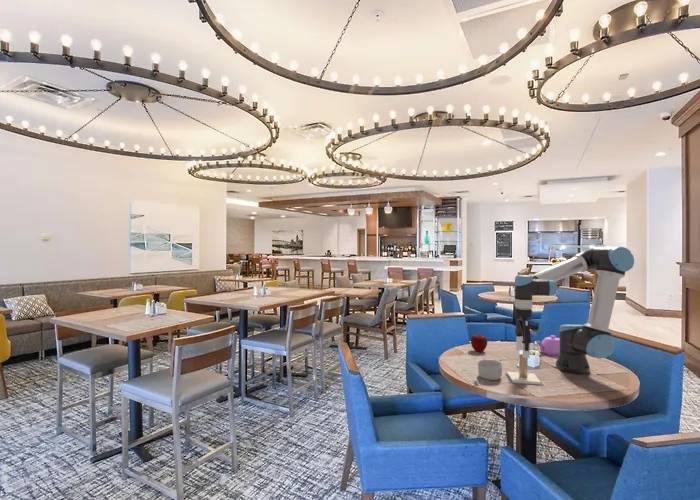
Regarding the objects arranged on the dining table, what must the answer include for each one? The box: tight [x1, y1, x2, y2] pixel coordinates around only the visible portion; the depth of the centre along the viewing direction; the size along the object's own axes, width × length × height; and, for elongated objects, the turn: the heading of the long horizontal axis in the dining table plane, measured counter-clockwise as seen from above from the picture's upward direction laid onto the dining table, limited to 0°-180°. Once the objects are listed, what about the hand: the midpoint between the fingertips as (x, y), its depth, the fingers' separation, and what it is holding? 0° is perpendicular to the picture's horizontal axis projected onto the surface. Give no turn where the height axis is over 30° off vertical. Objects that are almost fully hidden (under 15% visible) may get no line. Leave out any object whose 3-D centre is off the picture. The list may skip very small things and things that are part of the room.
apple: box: [470, 334, 488, 353], centre depth 226 cm, size 10×10×10 cm
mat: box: [504, 372, 545, 387], centre depth 173 cm, size 14×14×1 cm
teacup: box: [477, 358, 503, 381], centre depth 178 cm, size 14×11×8 cm
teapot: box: [535, 335, 560, 357], centre depth 222 cm, size 14×20×11 cm
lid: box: [506, 353, 542, 386], centre depth 173 cm, size 12×12×11 cm
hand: (522, 353), depth 173 cm, fingers open, 13 cm apart
